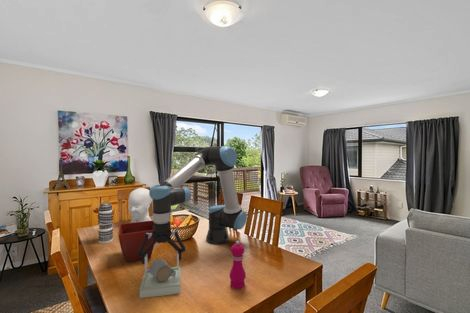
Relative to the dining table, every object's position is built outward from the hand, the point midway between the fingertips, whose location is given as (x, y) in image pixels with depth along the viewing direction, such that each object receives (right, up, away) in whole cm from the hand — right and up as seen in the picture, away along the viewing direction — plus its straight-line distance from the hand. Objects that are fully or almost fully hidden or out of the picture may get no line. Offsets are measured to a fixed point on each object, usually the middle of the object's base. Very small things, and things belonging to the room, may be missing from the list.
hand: (162, 268), depth 106 cm
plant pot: (-23, -7, +30) cm, 38 cm away
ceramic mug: (0, -5, +1) cm, 5 cm away
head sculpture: (-45, -6, +87) cm, 98 cm away
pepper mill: (+34, -8, 0) cm, 34 cm away
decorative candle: (-54, -6, +53) cm, 75 cm away
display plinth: (0, -7, 0) cm, 7 cm away
